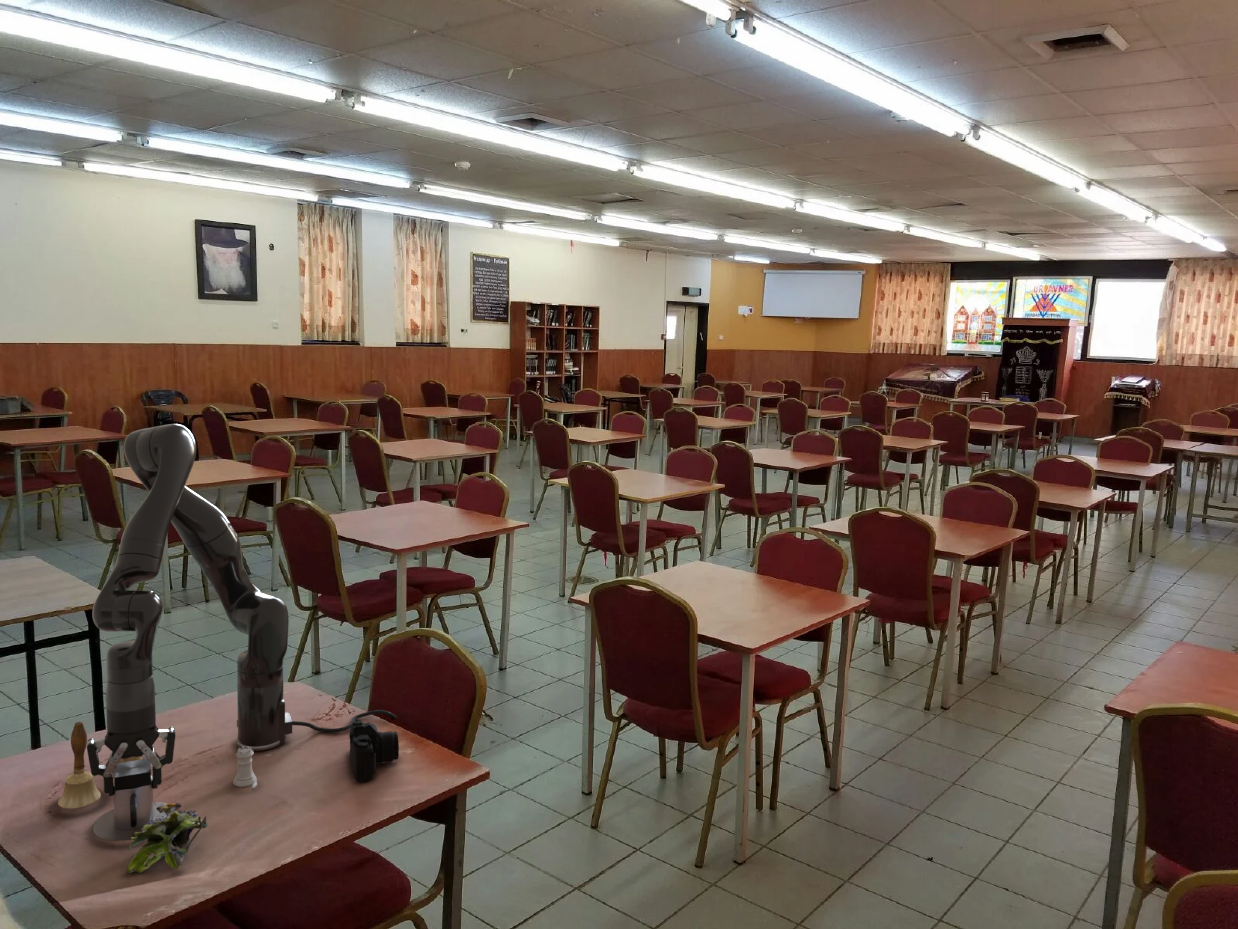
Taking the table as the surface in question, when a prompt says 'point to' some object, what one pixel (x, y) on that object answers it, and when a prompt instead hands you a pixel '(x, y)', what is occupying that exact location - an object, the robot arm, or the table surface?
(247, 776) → the rook chess piece
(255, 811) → the table surface
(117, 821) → the black-lidded handled container
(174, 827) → the passion flower
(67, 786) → the hand bell
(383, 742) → the film camera
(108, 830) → the disc
